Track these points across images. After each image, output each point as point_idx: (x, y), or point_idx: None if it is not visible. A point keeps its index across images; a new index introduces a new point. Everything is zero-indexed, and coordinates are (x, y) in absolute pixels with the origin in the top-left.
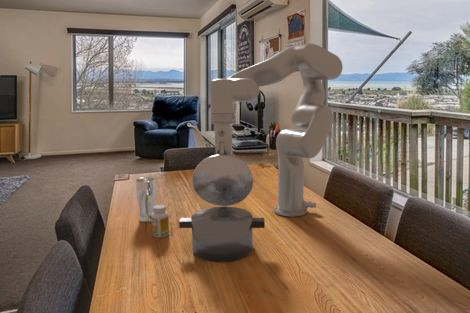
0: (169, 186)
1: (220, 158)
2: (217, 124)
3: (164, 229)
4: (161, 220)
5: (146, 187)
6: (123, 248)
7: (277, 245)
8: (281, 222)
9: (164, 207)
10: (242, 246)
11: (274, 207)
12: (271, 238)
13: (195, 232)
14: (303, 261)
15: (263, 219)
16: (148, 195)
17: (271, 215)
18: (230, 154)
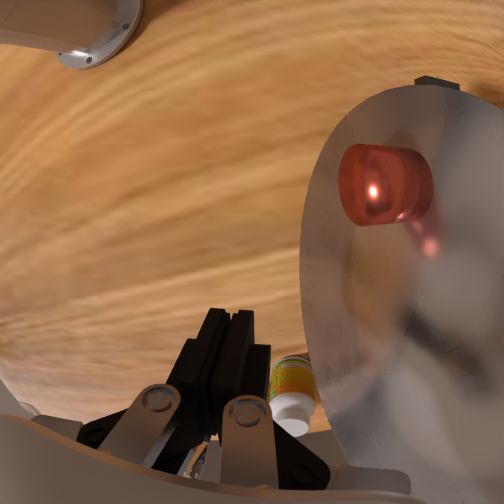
0: (21, 353)
1: None
2: None
3: (309, 374)
4: (314, 397)
5: (197, 467)
6: None
7: (380, 52)
8: (187, 29)
9: (298, 419)
10: None
11: (81, 67)
12: (329, 60)
13: None
14: (457, 22)
15: (442, 82)
16: (201, 447)
17: (126, 68)
18: (416, 501)
